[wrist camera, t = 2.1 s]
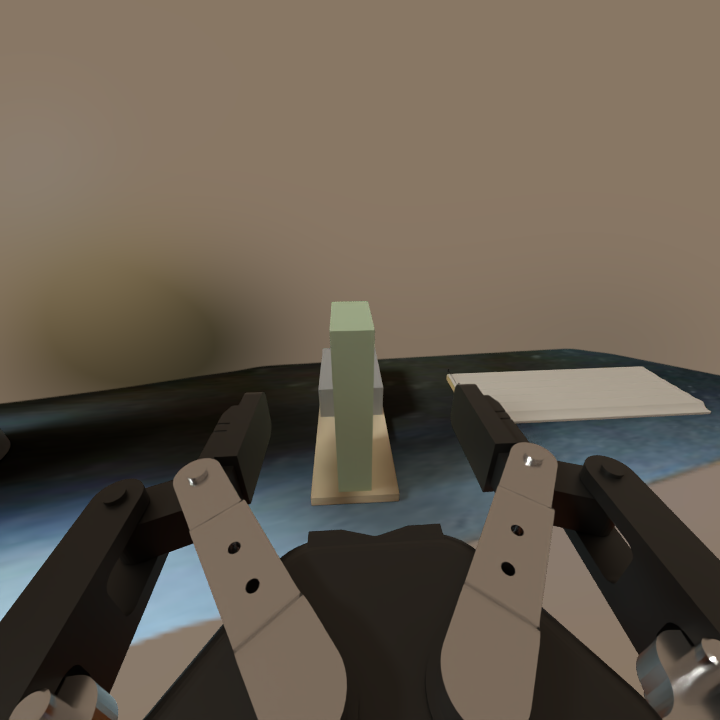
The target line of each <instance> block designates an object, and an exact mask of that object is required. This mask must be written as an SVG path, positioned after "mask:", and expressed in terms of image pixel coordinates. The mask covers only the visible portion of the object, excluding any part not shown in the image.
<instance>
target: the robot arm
mask: <svg viewBox="0 0 720 720" xmlns="http://www.w3.org/2000/svg"><path fill="white" fill-rule="evenodd" d="M451 424H452V427H453V430H454V432H455V434H456V436H457V438H458V440H459V442H460V445H461V447H462V449H463V451H464V453H465V455H466V457H467V459H468V461H469V464H470V466H471V468H472V470H473V472H474V474H475V476H476V478H477V480H478V483H479V485H480V487H481V489H482V491H483V492H493V491H494V492H495V496H494V499H493V502H492V504H491V507H490V510H489V513H488V516H487V519H486V522H485V525H484V528H483V531H482V534H481V537H480V539H479V542H478V545H477V548H476V549H474V548H473V547H472V546H470V545H468V544H466V543H465V542H463V541H461V540H458V539H456V538H453V537H450V536H446V535H443V533H442V529H441V526H440V524H427V525H411V526H406V527H403V528H400V529H397V530H394V531H391V532H388V533H385V534H382V535H378V536H371V535H366V534H361V533H356V532H351V531H346V530H328V531H311V532H309V535H308V543H306V544H303V545H301V546H298V547H296V548H294V549H293V550H291V551H289V552H288V553H286V554H285V555H284V556H282V557H281V558H279V556H278V555H277V553H276V551H275V550H274V548H273V546H272V545H271V543H270V541H269V540H268V538H267V536H266V534H265V533H264V531H263V529H262V528H261V526H260V524H259V523H258V521H257V519H256V518H255V516H254V514H253V513H252V511H251V509H250V508H249V506H248V504H251V501H252V498H253V494H254V491H255V487H256V484H257V480H258V477H259V474H260V470H261V467H262V463H263V460H264V457H265V453H266V450H267V446H268V443H269V439H270V436H271V419H270V414H269V409H268V404H267V399H266V395H265V393H264V392H256V393H245V394H244V396H243V398H242V400H241V402H240V404H239V405H234V406H231V407H230V408H229V409H228V410H226V411H225V412H224V413H223V414H222V416H221V418H220V420H219V421H218V425H216V427H215V429H214V432H213V433H212V434H211V436H210V438H209V440H208V442H207V444H206V445H205V447H204V449H203V451H202V453H201V455H200V457H199V458H198V460H196V461H193V462H191V463H189V464H187V465H186V466H184V467H183V468H182V469H181V470H180V471H179V472H178V473H177V474H176V476H175V478H174V480H171V481H168V482H165V483H161V484H158V485H155V486H151V487H148V488H145V487H144V485H143V483H142V482H141V481H139V480H137V479H125V480H121V481H118V482H115V483H113V484H111V485H109V486H107V487H106V488H104V489H103V490H101V491H100V492H99V493H98V494H96V495H95V496H94V497H93V499H92V500H91V501H90V502H89V504H88V505H87V506H86V508H85V509H84V510H83V512H82V513H81V514H80V516H79V517H78V518H77V520H76V521H75V522H74V524H73V525H72V526H71V528H70V529H69V530H68V532H67V533H66V534H65V536H64V537H63V538H62V540H61V541H60V543H59V544H58V545H57V547H56V548H55V549H54V551H53V552H52V553H51V555H50V556H49V557H48V559H47V560H46V561H45V563H44V564H43V565H42V567H41V568H40V569H39V571H38V572H37V573H36V575H35V576H34V577H33V579H32V580H31V581H30V583H29V584H28V585H27V587H26V588H25V589H24V591H23V592H22V593H21V595H20V596H19V597H18V599H17V600H16V601H15V603H14V604H13V605H12V607H11V608H10V609H9V611H8V612H7V613H6V615H5V616H4V617H3V619H2V620H1V622H0V720H118V707H117V703H116V701H115V699H114V698H113V697H112V696H111V695H110V691H111V689H112V687H113V684H114V682H115V679H116V677H117V675H118V672H119V670H120V668H121V665H122V663H123V660H124V658H125V656H126V653H127V651H128V649H129V646H130V644H131V641H132V639H133V637H134V634H135V632H136V630H137V627H138V625H139V622H140V620H141V618H142V615H143V613H144V611H145V608H146V606H147V603H148V601H149V599H150V596H151V594H152V592H153V589H154V587H155V584H156V582H157V580H158V577H159V575H160V573H161V570H162V568H163V565H164V563H165V561H166V558H167V556H168V554H169V552H171V551H174V550H177V549H179V548H182V547H185V546H188V545H190V544H193V543H194V546H195V549H196V551H197V554H198V557H199V559H200V562H201V565H202V567H203V570H204V573H205V575H206V578H207V581H208V584H209V586H210V589H211V592H212V594H213V597H214V600H215V602H216V605H217V608H218V610H219V613H220V616H221V619H222V621H223V625H222V626H221V627H220V629H219V630H218V631H217V632H216V633H215V634H214V635H213V637H212V638H211V639H210V640H209V642H208V643H207V644H206V645H205V646H204V647H203V649H202V650H201V651H200V652H199V653H198V655H197V656H196V657H195V658H194V659H193V661H192V662H191V663H190V664H189V665H188V666H187V668H186V669H185V670H184V671H183V673H182V674H181V675H180V676H179V677H178V678H177V680H176V681H175V682H174V683H173V684H172V686H171V687H170V688H169V689H168V690H167V691H166V693H165V694H164V695H163V696H162V697H161V699H160V700H159V701H158V702H157V703H156V705H155V706H154V707H153V708H152V710H151V711H150V712H149V713H148V714H147V715H146V717H145V718H144V719H143V720H720V560H719V559H718V558H717V557H716V556H715V555H714V554H713V553H712V552H711V551H710V550H709V549H708V548H707V547H706V546H705V545H704V544H703V543H702V542H701V541H700V539H699V538H698V537H697V536H696V535H695V534H694V533H693V532H692V531H691V530H690V529H689V528H688V527H687V526H686V525H685V524H684V523H683V522H682V521H681V520H680V519H679V518H678V517H677V516H676V515H675V514H674V513H673V512H672V511H671V510H670V509H669V508H668V507H667V506H666V505H665V504H664V502H663V501H662V500H661V499H660V498H659V497H658V496H657V495H656V494H655V493H654V492H653V491H652V490H651V489H650V488H649V487H648V486H647V485H646V484H645V483H644V482H643V481H642V480H641V479H640V478H639V477H638V476H637V475H636V474H635V473H634V472H633V471H632V470H631V469H630V468H629V467H627V466H626V465H624V464H623V463H621V462H619V461H617V460H615V459H612V458H609V457H606V456H599V455H595V456H590V457H588V458H587V459H586V460H585V463H584V465H583V466H582V465H577V464H571V463H566V462H561V461H557V460H556V458H555V457H554V456H553V455H552V454H551V453H550V452H549V451H548V450H546V449H545V448H543V447H541V446H539V445H536V444H533V443H529V441H528V440H527V439H526V437H525V436H524V435H523V433H522V432H521V431H520V429H519V428H518V427H517V425H516V424H515V423H514V421H513V420H512V419H511V417H510V416H509V415H508V413H507V412H505V409H504V408H503V407H502V405H501V404H500V403H499V402H498V401H497V400H495V399H494V398H492V397H491V396H489V395H483V394H482V392H481V391H480V389H479V388H478V386H477V385H476V384H457V385H456V386H455V390H454V397H453V403H452V409H451ZM9 448H10V441H9V439H8V438H7V437H6V435H5V434H4V433H3V431H2V430H1V429H0V460H1V459H2V458H3V457H4V456H5V455H6V453H7V452H8V450H9ZM553 526H557V527H561V528H563V529H564V530H565V532H566V534H567V535H568V537H569V539H570V540H571V542H572V544H573V545H574V547H575V549H576V550H577V552H578V554H579V555H580V557H581V559H582V560H583V562H584V564H585V565H586V567H587V569H588V570H589V572H590V574H591V575H592V577H593V579H594V580H595V582H596V584H597V586H598V587H599V589H600V590H601V592H602V594H603V595H604V597H605V599H606V601H607V602H608V604H609V606H610V607H611V609H612V611H613V612H614V614H615V616H616V617H617V619H618V621H619V622H620V624H621V626H622V627H623V629H624V631H625V632H626V634H627V636H628V637H629V639H630V641H631V642H632V644H633V646H634V647H635V649H636V651H637V652H638V654H639V656H638V658H637V662H636V670H637V675H638V678H639V681H640V682H641V685H642V687H643V690H644V697H645V699H644V698H643V697H642V696H641V695H640V694H639V693H638V692H637V691H636V690H635V689H634V688H633V687H632V686H631V685H629V684H628V683H627V682H626V681H625V680H624V679H622V678H621V677H620V676H619V675H618V674H617V673H616V672H615V671H614V670H612V669H611V668H610V667H609V666H608V665H607V664H606V663H604V662H603V661H602V660H601V659H600V658H599V657H598V656H597V655H596V654H594V653H593V652H592V651H591V650H590V649H589V648H588V647H586V646H585V645H584V644H583V643H582V642H581V641H579V639H577V638H576V637H575V636H574V635H573V634H572V633H571V632H569V631H568V630H567V629H566V628H565V627H564V626H563V625H562V624H560V623H559V622H558V621H557V620H556V619H555V618H554V617H552V616H551V615H550V614H549V613H548V612H547V611H546V610H545V609H543V608H542V600H543V593H544V586H545V579H546V572H547V565H548V557H549V549H550V542H551V536H552V528H553ZM615 526H616V527H617V528H618V530H619V531H620V532H621V534H622V535H623V536H624V538H625V539H626V540H627V542H628V543H629V545H630V547H631V548H630V547H629V546H628V544H627V543H626V542H625V541H624V539H623V538H622V537H621V535H620V534H619V533H618V531H617V530H616V529H615Z"/></svg>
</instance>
